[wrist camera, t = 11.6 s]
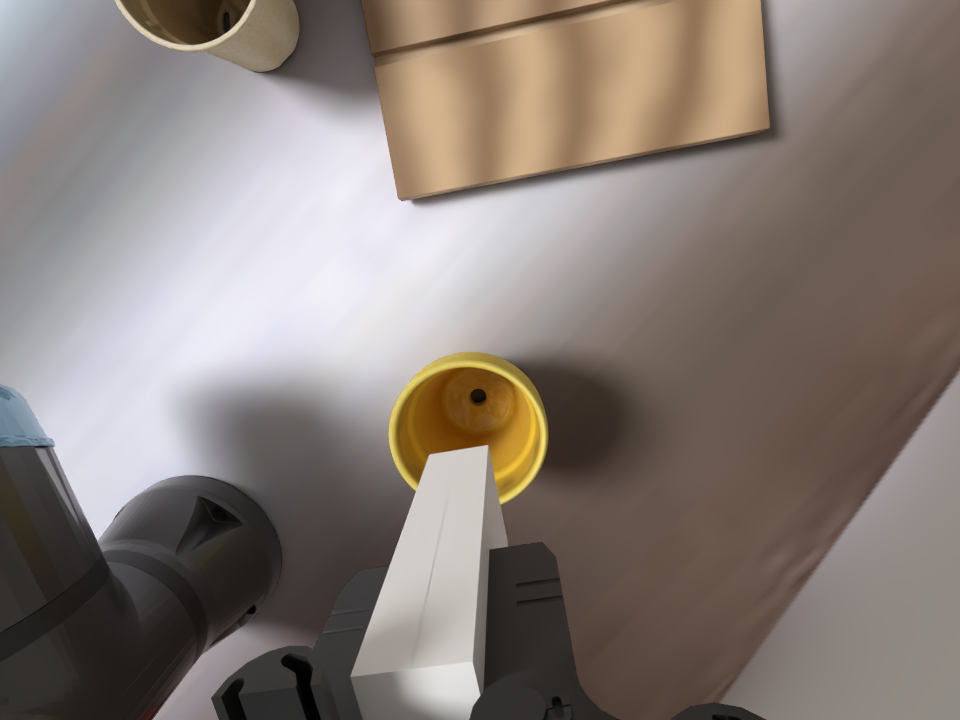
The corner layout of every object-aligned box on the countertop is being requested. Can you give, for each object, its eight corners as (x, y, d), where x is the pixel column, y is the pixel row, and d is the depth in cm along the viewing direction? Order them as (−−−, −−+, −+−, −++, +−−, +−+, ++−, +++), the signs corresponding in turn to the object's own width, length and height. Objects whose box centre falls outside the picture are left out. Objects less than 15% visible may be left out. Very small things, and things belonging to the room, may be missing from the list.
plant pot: (420, 327, 40) (391, 352, 30) (548, 340, 39) (558, 370, 30) (412, 445, 42) (383, 503, 33) (532, 459, 42) (538, 522, 32)
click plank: (402, 201, 37) (398, 198, 36) (378, 74, 36) (373, 67, 35) (761, 133, 34) (769, 127, 33) (750, -7, 33) (759, -18, 32)
